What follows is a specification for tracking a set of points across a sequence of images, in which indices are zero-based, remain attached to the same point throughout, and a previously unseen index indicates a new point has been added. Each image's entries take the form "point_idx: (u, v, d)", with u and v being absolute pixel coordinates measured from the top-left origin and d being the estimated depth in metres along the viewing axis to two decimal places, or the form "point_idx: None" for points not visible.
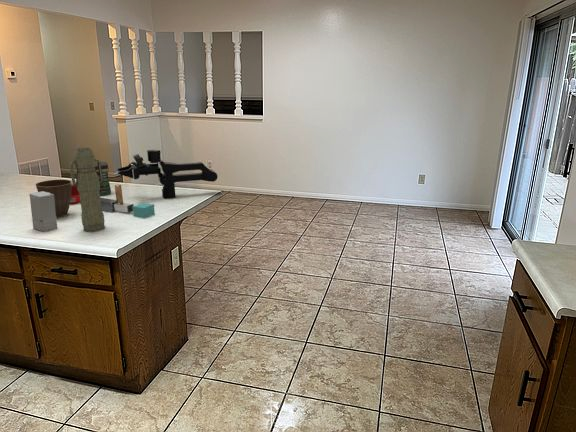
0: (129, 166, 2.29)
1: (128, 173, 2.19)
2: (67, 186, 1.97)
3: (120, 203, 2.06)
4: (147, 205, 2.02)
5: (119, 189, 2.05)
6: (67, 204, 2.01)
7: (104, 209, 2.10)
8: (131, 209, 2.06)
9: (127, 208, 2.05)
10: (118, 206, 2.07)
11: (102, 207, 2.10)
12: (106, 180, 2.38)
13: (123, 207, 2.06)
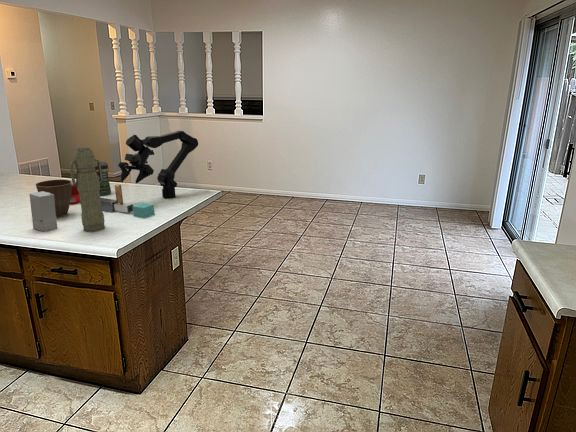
0: (124, 169, 2.15)
1: (142, 175, 2.12)
2: (67, 186, 1.97)
3: (120, 203, 2.06)
4: (147, 205, 2.02)
5: (119, 189, 2.05)
6: (67, 204, 2.01)
7: (104, 209, 2.10)
8: (131, 209, 2.06)
9: (127, 208, 2.05)
10: (118, 206, 2.07)
11: (102, 207, 2.10)
12: (106, 180, 2.38)
13: (123, 207, 2.06)
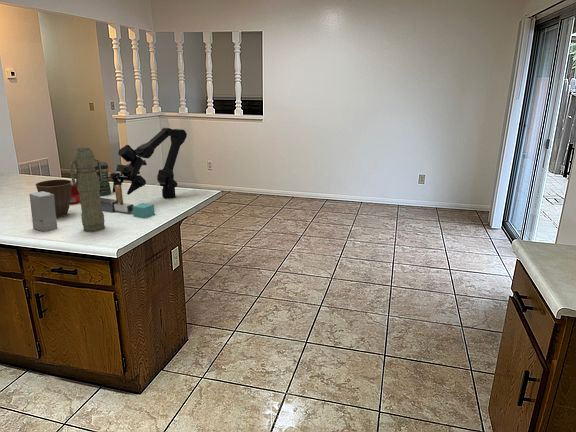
0: (116, 180, 2.11)
1: (134, 186, 2.08)
2: (67, 186, 1.97)
3: (120, 203, 2.06)
4: (147, 205, 2.02)
5: (119, 189, 2.05)
6: (67, 204, 2.01)
7: (104, 209, 2.10)
8: (131, 209, 2.06)
9: (127, 208, 2.05)
10: (118, 206, 2.07)
11: (102, 207, 2.10)
12: (106, 180, 2.38)
13: (123, 207, 2.06)
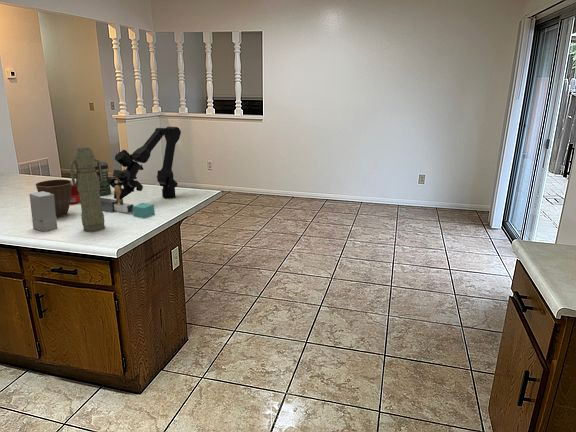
0: None
1: (126, 191, 2.07)
2: (67, 186, 1.97)
3: (120, 203, 2.06)
4: (147, 205, 2.02)
5: (119, 189, 2.05)
6: (67, 204, 2.01)
7: (104, 209, 2.10)
8: (131, 209, 2.06)
9: (127, 208, 2.05)
10: (118, 206, 2.07)
11: (102, 207, 2.10)
12: (106, 180, 2.38)
13: (123, 207, 2.06)
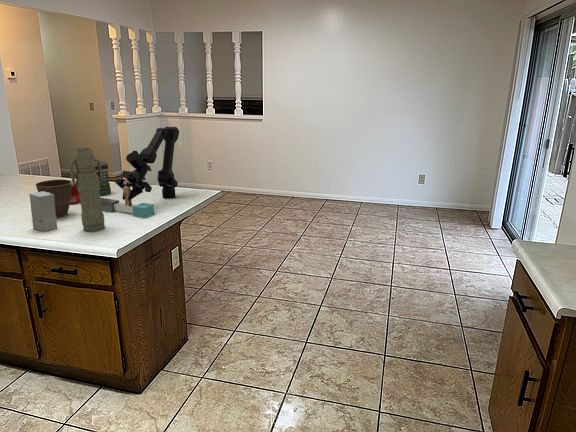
0: None
1: (135, 192, 2.05)
2: (67, 186, 1.97)
3: (128, 204, 2.04)
4: (147, 205, 2.02)
5: (128, 190, 2.03)
6: (67, 204, 2.01)
7: (104, 209, 2.10)
8: None
9: None
10: (127, 207, 2.05)
11: (102, 207, 2.10)
12: (106, 180, 2.38)
13: (132, 208, 2.04)
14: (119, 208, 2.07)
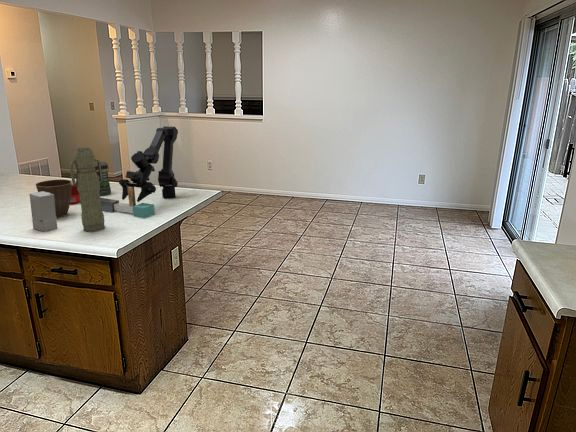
0: (125, 187, 2.06)
1: (144, 193, 2.03)
2: (67, 186, 1.97)
3: (132, 204, 2.04)
4: (147, 205, 2.02)
5: (132, 191, 2.02)
6: (67, 204, 2.01)
7: (104, 209, 2.10)
8: None
9: None
10: (131, 207, 2.04)
11: (102, 207, 2.10)
12: (106, 180, 2.38)
13: None
14: (123, 209, 2.06)
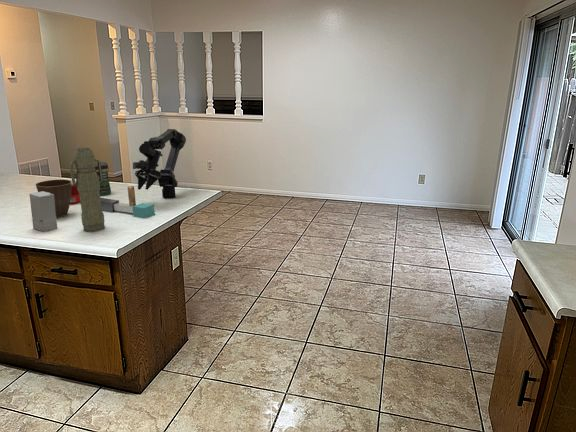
0: (139, 177, 2.18)
1: (151, 180, 2.10)
2: (67, 186, 1.97)
3: (132, 204, 2.04)
4: (147, 205, 2.02)
5: (132, 191, 2.02)
6: (67, 204, 2.01)
7: (104, 209, 2.10)
8: None
9: None
10: (131, 207, 2.04)
11: (102, 207, 2.10)
12: (106, 180, 2.38)
13: None
14: (123, 209, 2.06)
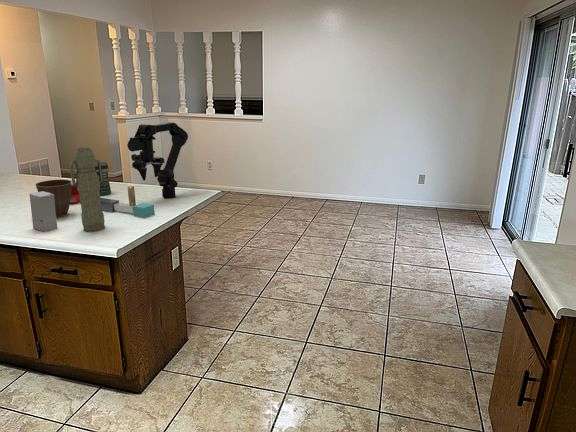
0: (153, 165, 2.25)
1: (142, 171, 2.15)
2: (67, 186, 1.97)
3: (132, 204, 2.04)
4: (147, 205, 2.02)
5: (132, 191, 2.02)
6: (67, 204, 2.01)
7: (104, 209, 2.10)
8: None
9: None
10: (131, 207, 2.04)
11: (102, 207, 2.10)
12: (106, 180, 2.38)
13: None
14: (123, 209, 2.06)
